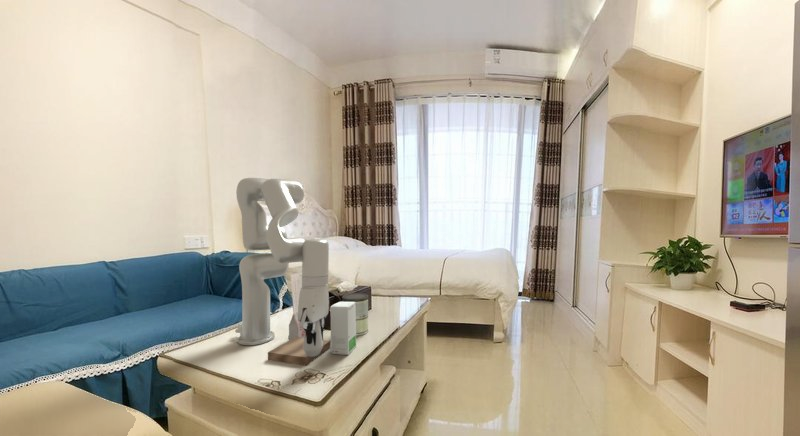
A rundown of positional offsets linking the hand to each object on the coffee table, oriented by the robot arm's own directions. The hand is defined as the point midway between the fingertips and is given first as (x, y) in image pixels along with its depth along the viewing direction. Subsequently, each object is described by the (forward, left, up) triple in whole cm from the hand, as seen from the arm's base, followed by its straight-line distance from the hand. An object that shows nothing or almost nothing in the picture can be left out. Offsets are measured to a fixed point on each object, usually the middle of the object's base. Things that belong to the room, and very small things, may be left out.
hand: (314, 342), depth 93 cm
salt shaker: (-1, 0, -4) cm, 4 cm away
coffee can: (-2, +33, -8) cm, 34 cm away
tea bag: (-19, +20, -8) cm, 29 cm away
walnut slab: (-10, +8, -8) cm, 15 cm away
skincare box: (+2, +15, -8) cm, 17 cm away
